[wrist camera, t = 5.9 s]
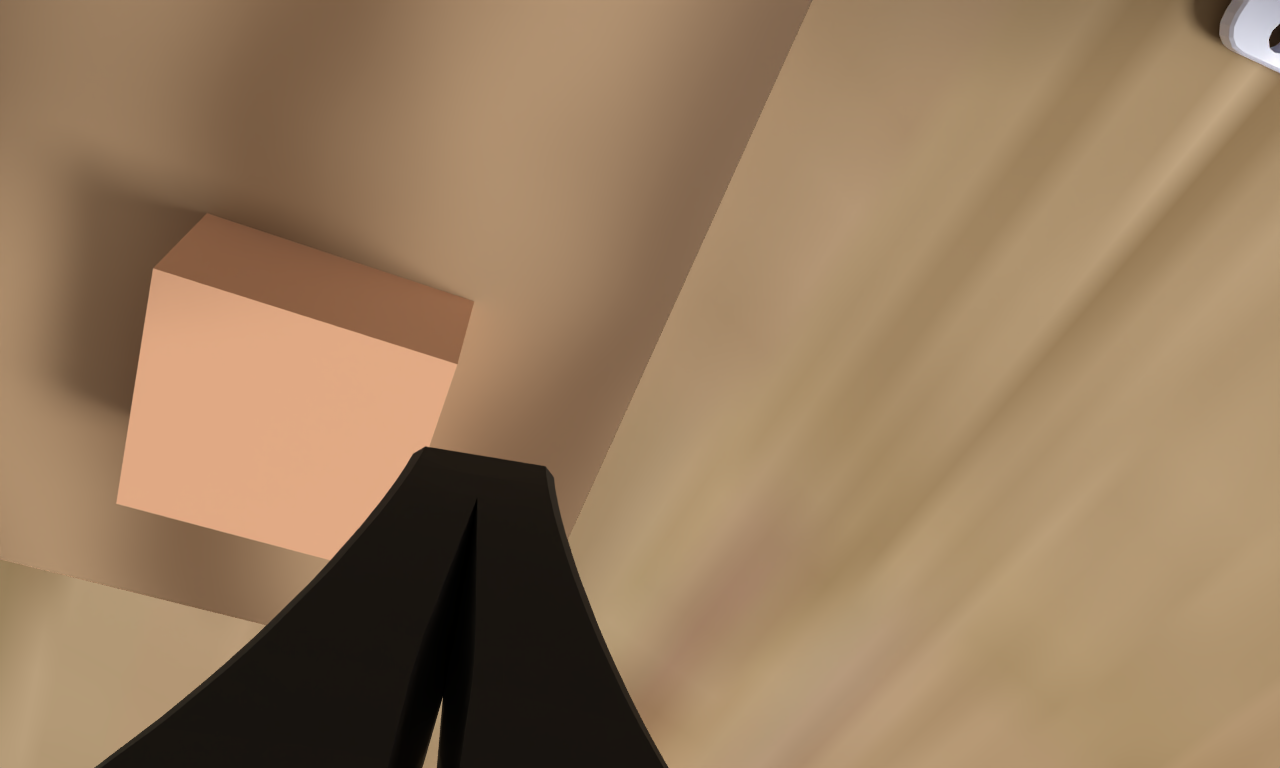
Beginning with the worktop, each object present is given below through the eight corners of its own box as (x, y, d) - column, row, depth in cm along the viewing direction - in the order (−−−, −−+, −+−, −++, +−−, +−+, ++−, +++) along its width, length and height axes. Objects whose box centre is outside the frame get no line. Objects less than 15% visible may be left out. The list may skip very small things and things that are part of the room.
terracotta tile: (474, 302, 17) (457, 364, 15) (407, 498, 19) (385, 575, 17) (206, 212, 16) (153, 268, 14) (168, 430, 18) (116, 503, 16)
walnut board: (838, -131, 15) (868, -123, 14) (510, 618, 23) (502, 683, 22) (-51, -543, 13) (-154, -598, 11) (-81, 463, 21) (-145, 523, 19)
